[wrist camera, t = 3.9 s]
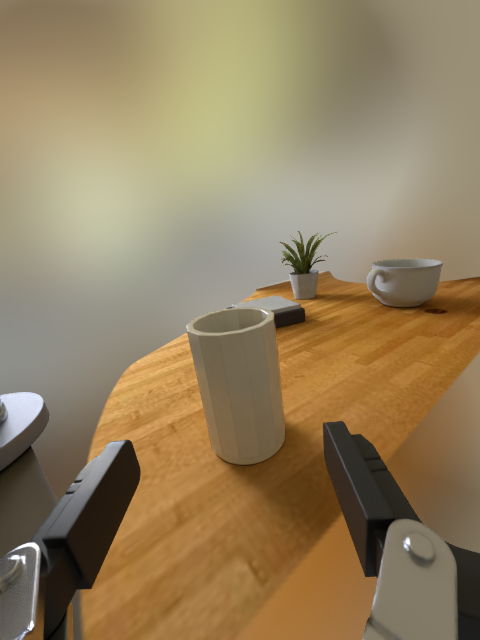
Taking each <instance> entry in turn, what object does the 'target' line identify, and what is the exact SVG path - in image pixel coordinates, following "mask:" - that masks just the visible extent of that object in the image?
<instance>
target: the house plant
mask: <svg viewBox="0 0 480 640" xmlns="http://www.w3.org/2000/svg"><path fill="white" fill-rule="evenodd" d="M298 232H299V231H298ZM299 234H300V232H299ZM328 235H329V234H328ZM328 235H327V236H328ZM315 236H316V235H314V236H312V237H311V238H310V240H309V241H308V244H307V247H306V253H305V255H304V245H303V240H302V236H301V234H300V238H301V244H300V243H299V242H297V241H294V240H293V241H294V242H295V243H296V246H297V248H298V252H299V255H300V259H301V261H300V260H299V258H298V256H297V254H296V253H295V251H294V250H293V249H292V248H291V247H290V246H288V245H287V244H285V243H282V244H283V245H285V247H286V248H287V249H288V250H289V251H290V252H291V253H292V255H293V256H294V258H295V260H294V258H293V257H292V256H291V255H290V254H288V253H287V252H285V251H282V253H283V255H284V256H285V257H286V259H285V258H284V259H283V261H285V260H288V261H290V262H291V263H292V264H293V265H291V266H292V267H293V268H294V270H295V272H293V273H290V274H289V276H290V280H291V284H292V288H293V293H294V297H295V298H296V299H310V298H314V297H315V296H316V287H317V279H318V271H317V270H309V269H311V267H312V265H313V264H314V263H316V262H319V261H325V260H318V261H316V260H317V259H316V260H315V261H316V262H315V261H314V262H313V264H312V265H311V261H312V258H313V257H314V255H315V253H314V252H315V250H316V248H317V247H318V245H319V244H320V242H321V241H322V240H323V239H324V238H325V237H326V236H325V237H324V238H322V239H321V240H318V239H319V238H318V239H317V240H318V241H317V240H316V242H315V243H314V245H313V246H312V249H311V252H310V254H309V249H310V246H311V243H312V241H313V239H314V237H315ZM320 237H321V236H320ZM280 243H281V242H280ZM308 256H309V257H308ZM320 257H321V256H320ZM318 258H319V257H318ZM283 261H282V263H283ZM301 262H302V263H301ZM285 265H289V264H285ZM310 265H311V266H310Z"/></svg>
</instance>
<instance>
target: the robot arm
mask: <svg viewBox="0 0 480 640" xmlns="http://www.w3.org/2000/svg"><path fill="white" fill-rule="evenodd" d="M7 417H8V411H7V409H6V407H5V405H4V403H3V402H2V401H1V400H0V426H1V425H2V424H3V423H4V422H5V420H6V419H7ZM323 440H324V456H325V462H326V466H327V470H328V473H329V475H330V478H331V481H332V484H333V487H334V489H335V492H336V495H337V498H338V501H339V504H340V506H341V509H342V512H343V515H344V518H345V520H346V523H347V526H348V529H349V532H350V535H351V537H352V540H353V543H354V546H355V548H356V551H357V554H358V557H359V560H360V563H361V565H362V568H363V571H364V574H365V577H375V576H376V577H377V579H378V580H377V585H376V590H375V595H374V600H373V605H372V610H371V614H370V617H369V618H368V620H367V623H366V626H365V630H364V634H363V639H362V640H480V553H476V552H472V551H468V550H465V549H462V548H459V547H456V546H454V545H451V544H449V543H447V542H446V541H444V540H443V539H442V538H441V537H440V536H439V535H438V534H437V533H436V532H434V531H433V530H432V529H430V528H429V527H427V526H426V525H424V524H423V523H422V522H421V521H420V519H419V518H418V516H417V515H416V514H415V512H414V510H413V508H412V507H411V505H410V504H409V502H408V500H407V499H406V497H405V496H404V495H403V493H402V491H401V489H400V488H399V486H398V484H397V483H396V481H395V480H394V478H393V476H392V475H391V473H390V472H389V471H388V470H387V467H386V465H385V464H384V462H383V460H381V457H380V456H379V454H378V452H377V451H376V449H375V448H374V446H373V444H371V443H370V442H369V441H368V440H367V439H365V438H364V437H363V436H362V435H361V434H357V435H351V434H350V432H349V431H348V429H347V427H346V425H345V423H344V422H343V421H338V422H327V423H323ZM139 480H140V466H139V463H138V460H137V457H136V454H135V451H134V448H133V445H132V442H131V441H130V440H123V441H112V442H110V443H108V444H107V446H106V447H105V449H104V450H103V452H102V453H101V454H100V456H97V457H95V458H94V459H93V460H92V461H91V462H90V463H88V464H87V465H86V466H85V467H84V468H83V469H82V471H81V472H80V473H79V475H78V476H77V478H76V479H75V480H74V483H73V484H71V486H70V487H69V489H68V490H67V491H66V495H63V497H62V498H61V500H60V501H59V502H58V504H57V505H56V506H55V508H54V509H53V510H52V512H51V513H50V515H49V516H48V517H47V519H46V520H45V521H44V523H43V524H42V526H41V527H40V528H39V530H38V531H37V532H36V534H35V535H34V536H33V538H32V539H31V540H30V542H29V543H26V544H23V545H21V546H19V547H17V548H15V549H13V550H12V551H10V552H8V553H7V554H6V555H5V556H3V557H2V558H1V559H0V640H73V612H72V605H71V600H72V598H73V596H74V594H75V592H76V590H79V589H91V588H92V586H93V584H94V582H95V579H96V577H97V575H98V573H99V571H100V568H101V566H102V564H103V562H104V559H105V557H106V555H107V553H108V551H109V548H110V546H111V544H112V542H113V540H114V537H115V535H116V533H117V531H118V528H119V526H120V524H121V522H122V520H123V517H124V515H125V513H126V511H127V508H128V506H129V504H130V502H131V500H132V497H133V495H134V493H135V491H136V489H137V486H138V484H139Z"/></svg>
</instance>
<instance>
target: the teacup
mask: <svg viewBox="0 0 480 640" xmlns="http://www.w3.org/2000/svg"><path fill="white" fill-rule="evenodd" d="M442 265H443V262H441V261H438V260H431V259H393V260H383V261H377V262H374V263H372V271H371V272H370V273H369V274H368V277H367V281H366V283H367V287H368V289H369V290H370V291H371V292H372V294H373V295H374V297H375V298H377V299H378V300H379V301H380V302H381V303H382V304H385V305H388V306H393V307H415V306H419V305H421V304H423V303H424V302H426V301H428V300H430V299H431V298H432V297H433V296H434V294H435V293H436V290H437V286H438V282H439V277H440V272H441V267H442Z"/></svg>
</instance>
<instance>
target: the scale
mask: <svg viewBox="0 0 480 640" xmlns="http://www.w3.org/2000/svg"><path fill="white" fill-rule="evenodd" d="M238 307H257V308H265V309H268V310H270V311H272V312H273V313H274V315H275V325H276V328H278V327H282V326H287V325H291V324H296V323H300V322H304V321H305V309H303V308H301V307H300V304H298V303H296V302H293V301H290V300H288V299H285V298H282V297H280V296H277V295H276V296H271V297H266V298H261V299H256V300H251V301H246V302H241V303H236V304H232V307H230V308H227V309H231V308H238Z"/></svg>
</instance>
